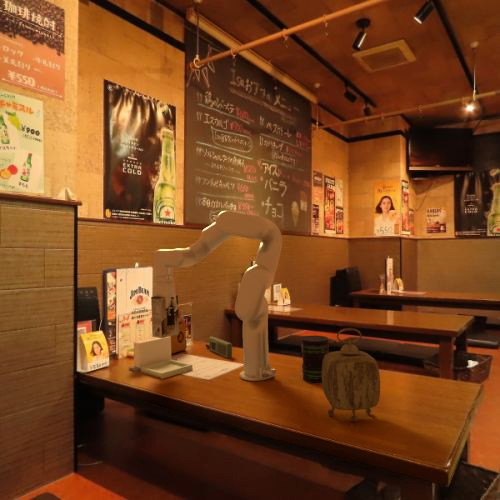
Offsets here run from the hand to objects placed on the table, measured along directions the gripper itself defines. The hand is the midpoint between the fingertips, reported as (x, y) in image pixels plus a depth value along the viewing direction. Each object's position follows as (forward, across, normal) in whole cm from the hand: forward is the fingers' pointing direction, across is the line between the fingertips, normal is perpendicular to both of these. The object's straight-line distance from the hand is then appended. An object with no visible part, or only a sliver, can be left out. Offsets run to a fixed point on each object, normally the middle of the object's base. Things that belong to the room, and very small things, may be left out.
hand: (165, 323), depth 166 cm
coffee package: (+19, -24, +22) cm, 38 cm away
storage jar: (+19, +54, +26) cm, 63 cm away
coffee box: (+5, 0, 0) cm, 5 cm away
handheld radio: (+19, -5, +34) cm, 39 cm away
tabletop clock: (+19, +81, +2) cm, 83 cm away
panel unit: (+19, -12, +2) cm, 23 cm away
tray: (+19, 0, 0) cm, 19 cm away
